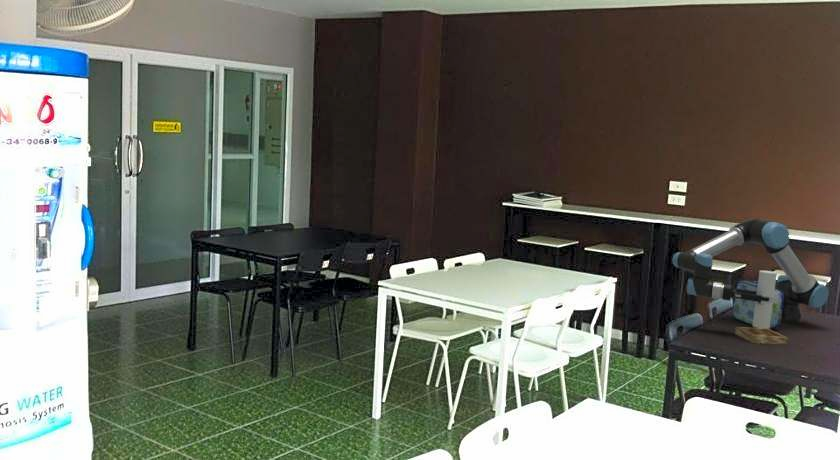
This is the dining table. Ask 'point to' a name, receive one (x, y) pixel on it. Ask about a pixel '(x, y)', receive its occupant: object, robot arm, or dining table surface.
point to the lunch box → (745, 308)
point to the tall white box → (764, 308)
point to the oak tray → (761, 335)
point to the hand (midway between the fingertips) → (777, 299)
